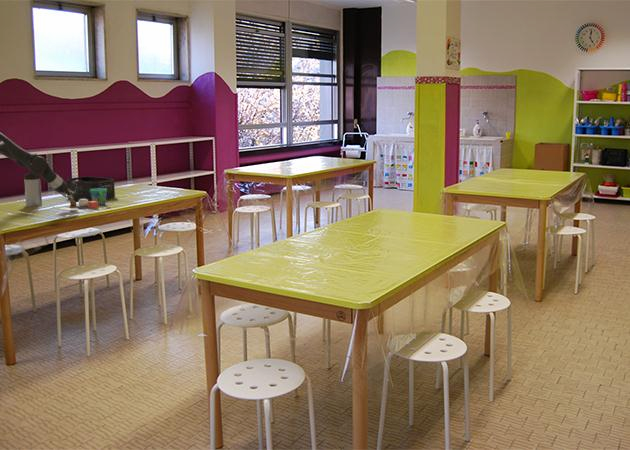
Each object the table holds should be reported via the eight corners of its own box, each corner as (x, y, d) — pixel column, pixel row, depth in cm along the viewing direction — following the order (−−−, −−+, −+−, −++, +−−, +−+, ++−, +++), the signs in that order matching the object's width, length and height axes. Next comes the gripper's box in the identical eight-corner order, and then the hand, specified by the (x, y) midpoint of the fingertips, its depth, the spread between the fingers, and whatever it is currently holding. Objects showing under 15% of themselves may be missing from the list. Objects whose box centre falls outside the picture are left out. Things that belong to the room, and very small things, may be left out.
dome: (76, 205, 416) (76, 199, 415) (84, 204, 420) (84, 198, 420) (82, 206, 413) (82, 200, 412) (90, 204, 417) (89, 199, 417)
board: (57, 210, 412) (56, 202, 411) (79, 206, 425) (78, 198, 424) (77, 213, 402) (76, 205, 401) (99, 209, 415) (98, 201, 414)
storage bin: (117, 197, 460) (116, 178, 458) (96, 201, 444) (95, 181, 441) (86, 194, 473) (85, 175, 470) (65, 198, 456) (63, 179, 454)
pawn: (67, 207, 407) (66, 191, 405) (74, 206, 411) (73, 190, 409) (72, 208, 405) (71, 192, 403) (79, 207, 408) (78, 191, 406)
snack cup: (109, 206, 427) (108, 190, 425) (92, 207, 422) (91, 191, 420) (106, 202, 441) (105, 187, 438) (89, 203, 436) (88, 188, 434)
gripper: (46, 187, 399) (65, 204, 411) (60, 189, 391) (80, 206, 403) (53, 177, 402) (72, 194, 414) (68, 179, 394) (86, 196, 406)
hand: (75, 200), depth 409 cm, fingers closed on pawn, 3 cm apart
